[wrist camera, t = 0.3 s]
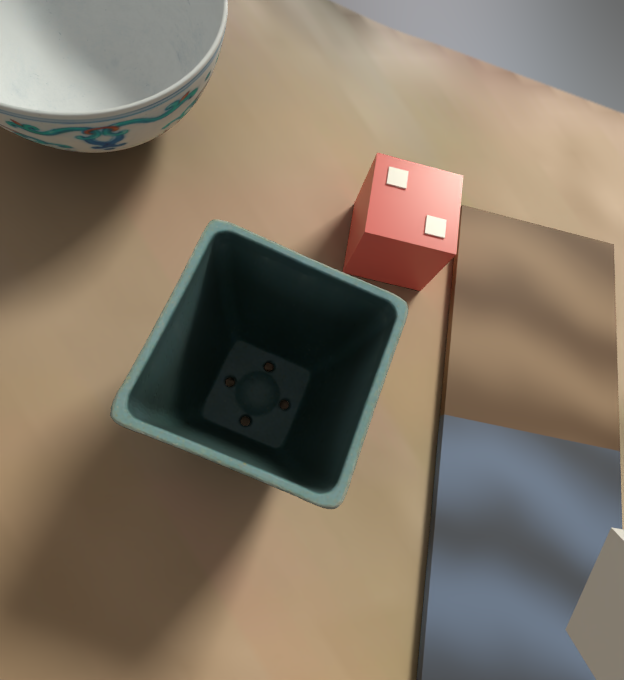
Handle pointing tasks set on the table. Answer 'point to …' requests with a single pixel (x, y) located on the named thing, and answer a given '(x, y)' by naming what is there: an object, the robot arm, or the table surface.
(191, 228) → the table surface
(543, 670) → the board
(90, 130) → the chinaware
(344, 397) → the flower pot
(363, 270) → the die
